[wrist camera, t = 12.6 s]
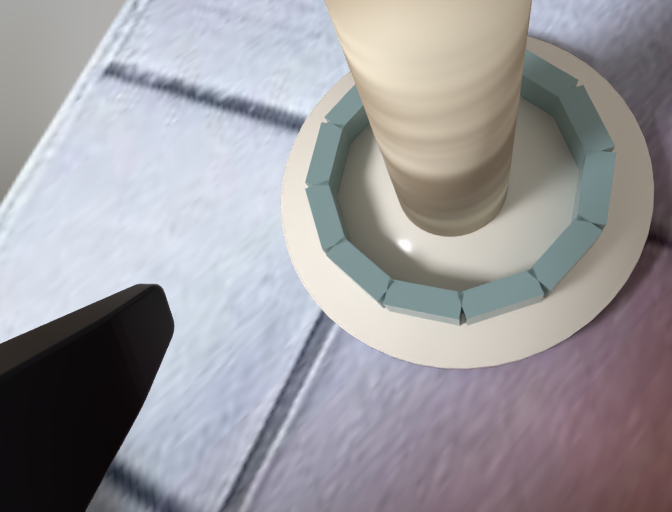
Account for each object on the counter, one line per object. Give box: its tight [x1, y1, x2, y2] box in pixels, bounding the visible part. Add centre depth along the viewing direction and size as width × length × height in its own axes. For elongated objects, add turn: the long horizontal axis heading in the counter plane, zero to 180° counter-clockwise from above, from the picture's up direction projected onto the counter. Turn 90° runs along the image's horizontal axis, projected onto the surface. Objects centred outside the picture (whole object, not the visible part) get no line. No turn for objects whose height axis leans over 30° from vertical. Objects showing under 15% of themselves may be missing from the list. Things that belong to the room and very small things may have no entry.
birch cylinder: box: [324, 0, 532, 237], centre depth 17 cm, size 4×4×12 cm
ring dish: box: [281, 36, 654, 370], centre depth 22 cm, size 15×15×2 cm
